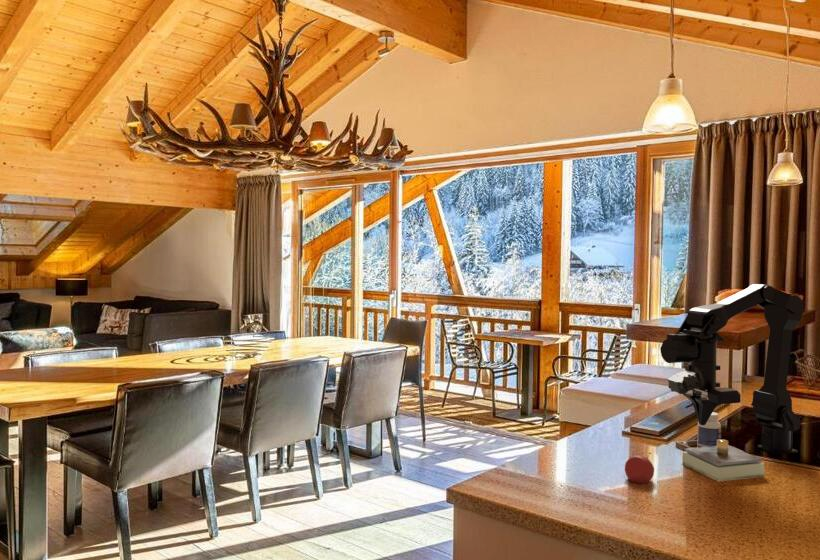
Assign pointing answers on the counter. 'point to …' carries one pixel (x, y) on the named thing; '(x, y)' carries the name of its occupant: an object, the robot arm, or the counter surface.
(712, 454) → the lid
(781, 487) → the counter surface
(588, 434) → the counter surface
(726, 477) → the box
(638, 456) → the fruit
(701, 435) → the pill bottle
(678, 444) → the frame
